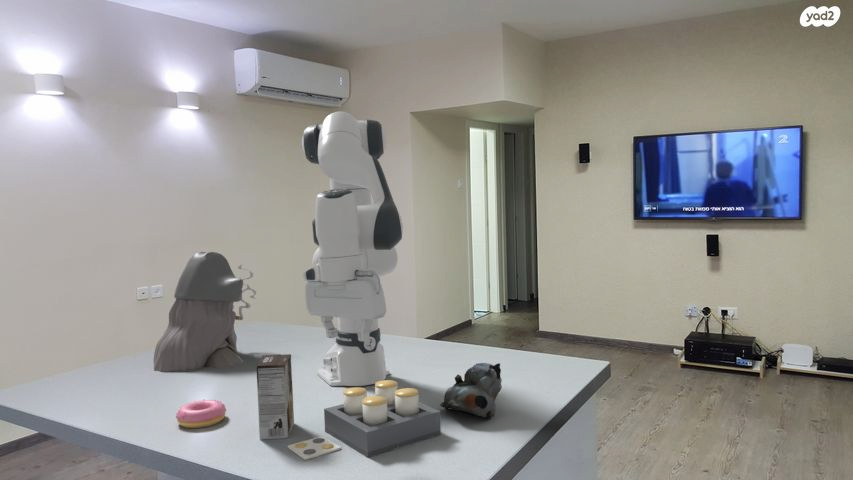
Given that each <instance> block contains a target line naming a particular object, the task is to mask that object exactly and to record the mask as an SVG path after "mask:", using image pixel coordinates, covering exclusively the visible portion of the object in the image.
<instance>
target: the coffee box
mask: <svg viewBox="0 0 853 480" xmlns="http://www.w3.org/2000/svg"><path fill="white" fill-rule="evenodd" d="M292 373H293V372H292V354H290V353H289V354H280V353H279V354H278V353H277V354H274V353H273V354H264V355H262V357H261V358H260V360H259V361H258V362H257V364H256V383H257V384H256V386H257V407H258V429H259V430H258V431H259V440H261V441H262V440H275V439H277V440H278V439H289V438H290V436H291V432H292V430H293V426H294V424H295V417H294V416H295V413H294V393H293V391H294V389H293V374H292Z"/></svg>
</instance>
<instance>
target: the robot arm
mask: <svg viewBox="0 0 853 480" xmlns="http://www.w3.org/2000/svg"><path fill="white" fill-rule="evenodd" d="M386 147H387V135H386V132H385V130H384V128H383V126H382V123H381V122H380V121H378V120H374V119H366V120H360V119H359V120H358V119H356V117H355V116H353V115H352V114H351V113H349V112H346V111H335V112H332V113H330V114H329V115H327V116H326V117H325V118H324V120H323V122H322V124H318V123H315V124H312V125H309V126H307V127H306V128H305V129H304V130H303V135H302V138H301V148H302V151H303V154H304V156H305V158H306V160H307V161H308V162H309V163H311V164H315V165H319V168H320V169H321V171H322V173H323V174H324V175H325V176H326V177H327V178H329V189H328V190H324V191H320V192H319V193H318V194H317V195H316V196H315V197H316V198H315V207H314V209H315V211H314V212H315V214H314V218H313V220H312V221H311V222H312V223H311V225H312V234H313V235H312V237H313V243H314V244H315V245H316V246H318V248H316V250H315V251H314V253H313V255H312V259H311V266H310V267H309V268H307V269H305V270H304V271H303V280H304V281H305V282H306V283H305V286H304V295H305V297H304V298H305V305H306V306H305V307H306V310H307V312H308V314H309V315H310V316H318V317H320V322H321V323H322V326H323V328H324V329H325V331H326V332H325V333H326V337H327V338H329V339H334V338H335V344H333V345H332V347H331V348H329V350H328V351H327V352H326V353H325V356H324V357H323V359H322V360H323V365H324V367H321V368H319V369H318V370H316V374H317V375H318V376H319V377H320V378H321V379H322V380H323V381H324V382H326V384H328V385H329V386H333V387H339V386H340V387H341V386H345V387H346V386H347V387H362V386H363V387H364V386H369V385H375V383H376V382H378V381H383V380H387V376H388V375H389V374H390V369H389V368H387V366H386V358H385V349H384V346H383V345H382V344H381V343H380V342H381V336H382V335H381V334H382V333H381V329H380V327H379V319H381V318H384V317H385V315H386V313H387V306H386V297H385V294H384V289H383V285H382V283H381V277H384V276H387V275H388V274H391V273H393V272H394V271H395V269H396V267H397V264H398V252H397V249H396V248H395V247H396V246H397V245H398V244H399V243H400V241H401V240H403V233H404V225H403V224H404V223H403V220H402V216H401V214H400V212H399V210H398V208H397V205H396V203H395V202H394V198H393V197H392V193H391V190H390V187H389V183H388V181H387V179H386V176H385V172H384V171H383V168H382V166H381V163H380V161H379V159H380V158H381V157H382V156H383V155H384V151H385V149H386ZM372 200H373V203H372ZM334 318H337V320H338V327H335V325H334V323H333V320H334Z"/></svg>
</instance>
